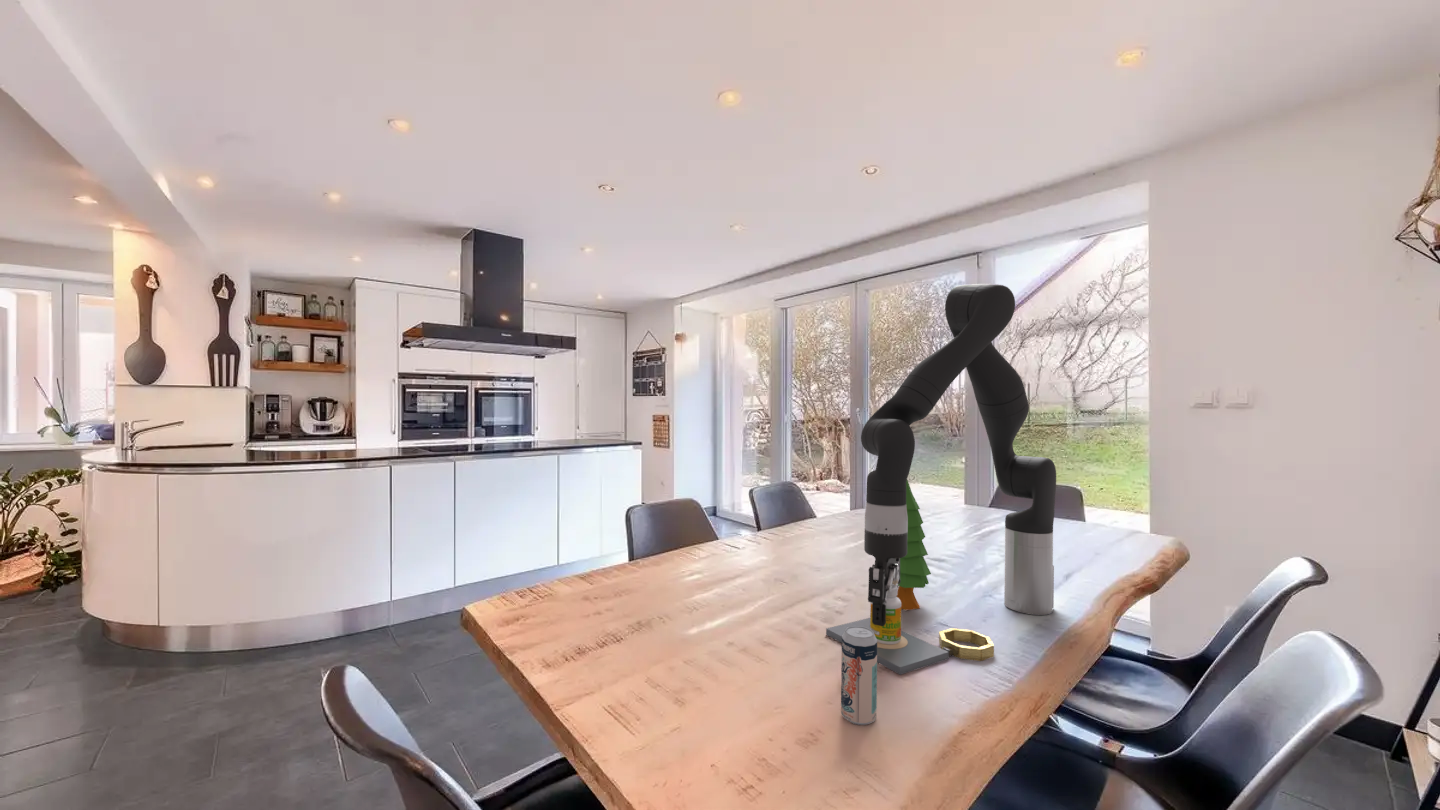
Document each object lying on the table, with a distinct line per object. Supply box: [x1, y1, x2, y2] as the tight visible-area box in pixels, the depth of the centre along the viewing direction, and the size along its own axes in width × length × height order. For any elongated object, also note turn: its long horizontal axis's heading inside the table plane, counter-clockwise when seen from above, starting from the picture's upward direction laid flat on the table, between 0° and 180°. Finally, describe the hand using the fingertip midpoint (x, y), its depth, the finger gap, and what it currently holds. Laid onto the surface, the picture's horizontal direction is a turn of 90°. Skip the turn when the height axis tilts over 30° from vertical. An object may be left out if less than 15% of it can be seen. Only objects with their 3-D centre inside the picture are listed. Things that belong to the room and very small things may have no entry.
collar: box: [938, 627, 995, 662], centre depth 99 cm, size 11×9×2 cm
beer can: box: [840, 626, 878, 726], centre depth 77 cm, size 5×5×12 cm
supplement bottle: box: [869, 584, 902, 645], centre depth 100 cm, size 5×5×10 cm
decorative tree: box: [897, 479, 932, 611], centre depth 122 cm, size 10×9×30 cm
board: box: [825, 617, 950, 676], centre depth 100 cm, size 12×18×1 cm, turn 30°
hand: (884, 617), depth 100 cm, fingers open, 8 cm apart
